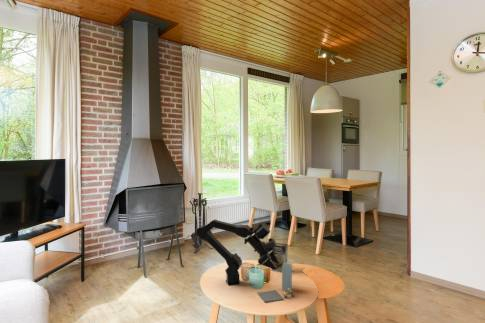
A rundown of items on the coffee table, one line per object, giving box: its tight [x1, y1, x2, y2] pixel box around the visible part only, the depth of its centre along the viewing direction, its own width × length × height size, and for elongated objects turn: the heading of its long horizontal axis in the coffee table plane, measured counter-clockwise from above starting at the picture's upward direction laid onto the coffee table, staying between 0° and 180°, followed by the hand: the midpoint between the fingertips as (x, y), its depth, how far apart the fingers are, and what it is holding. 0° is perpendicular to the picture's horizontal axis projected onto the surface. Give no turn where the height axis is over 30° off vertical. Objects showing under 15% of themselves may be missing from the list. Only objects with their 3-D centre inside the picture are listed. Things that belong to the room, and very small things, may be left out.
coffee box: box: [270, 242, 288, 273], centre depth 189 cm, size 9×6×16 cm
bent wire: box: [283, 288, 295, 299], centre depth 154 cm, size 6×5×3 cm
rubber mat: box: [257, 289, 285, 303], centre depth 153 cm, size 10×10×1 cm
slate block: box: [281, 262, 293, 292], centre depth 162 cm, size 5×5×13 cm
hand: (277, 266), depth 163 cm, fingers open, 9 cm apart
